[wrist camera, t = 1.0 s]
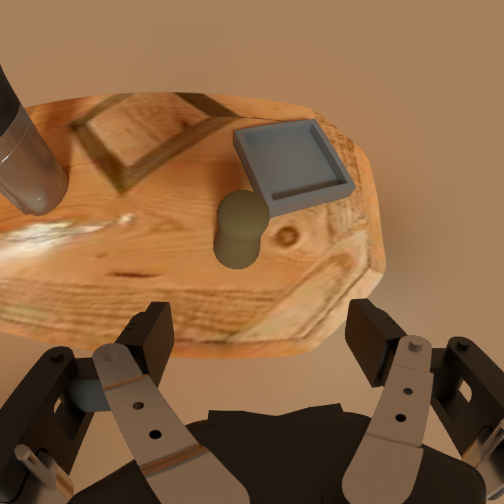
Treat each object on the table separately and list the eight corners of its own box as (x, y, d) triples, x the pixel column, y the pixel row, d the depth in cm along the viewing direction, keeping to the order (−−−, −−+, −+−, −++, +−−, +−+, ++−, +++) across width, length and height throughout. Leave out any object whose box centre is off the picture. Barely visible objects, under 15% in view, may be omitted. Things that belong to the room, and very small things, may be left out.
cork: (245, 218, 37) (257, 172, 27) (268, 256, 36) (288, 221, 26) (205, 236, 36) (201, 194, 26) (226, 277, 35) (231, 249, 24)
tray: (265, 219, 38) (269, 209, 35) (233, 143, 41) (234, 130, 38) (348, 197, 41) (356, 187, 38) (310, 130, 44) (315, 118, 41)
